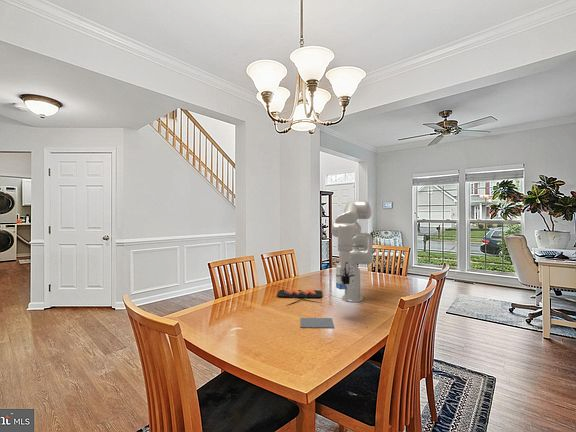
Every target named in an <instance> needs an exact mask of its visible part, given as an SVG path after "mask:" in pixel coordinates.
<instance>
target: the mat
mask: <svg viewBox="0 0 576 432" xmlns="http://www.w3.org/2000/svg"><path fill="white" fill-rule="evenodd" d="M299 328H301V329H335V325H334V321H333V318H332V317H300V327H299Z"/></svg>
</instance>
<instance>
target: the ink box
mask: <svg viewBox="0 0 576 432" xmlns="http://www.w3.org/2000/svg"><path fill="white" fill-rule="evenodd" d="M335 268H336V269H335V287H336V289H339V290H345V289H353V288H354V266H352V265H351V269H350V268H349V269H350V271H349V276H350V283H349V284H343V276H344V273H343V270H342V271H341V267H340V265H339V264H337V265H336V266H335ZM344 270H346V269H344Z"/></svg>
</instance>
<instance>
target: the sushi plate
mask: <svg viewBox="0 0 576 432" xmlns="http://www.w3.org/2000/svg"><path fill="white" fill-rule="evenodd" d="M276 296H277V297H281V298H282V297H284V298H294V299H299V300H296V301H293V302H291V303H289V304H287V305H286V304H285V307H288V306H292V305H294V304H295V303H298V302H300V301H301V300H302V301H306V302H311V303H317V304H321V302H320V301H316V300H310V299H308V298H321V297H323V291H322V290H314V289H313V290H312V289H295V288H294V289H280V290H278V292H277V295H276ZM306 298H307V299H306Z"/></svg>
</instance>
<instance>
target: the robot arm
mask: <svg viewBox="0 0 576 432" xmlns="http://www.w3.org/2000/svg"><path fill="white" fill-rule="evenodd" d="M371 218H372V208H371V205H370V203H369V202H368V201H366V200H353V201H352V200H351V201H348V202H347V203H346V204H345V207H344V210H343V213H341V214H339V215H338V216H336V217H335V218H334V219H333V221H332V224H331V235H332V236H333V237H335V238H337V252H339V253H338V265H340V267H341V271H342V270H343V273H344V276H343V284H349V283H350V276H349V271H350V269H351V265H352V266H354V288H353V289H344V295H342V296H341V300H343V301H345V302H347V303H348V302H349V303H359V302H362V301H364V298H363V296H361V269H360V268H359V267H358V265H370V264H371V263H372V262H373V250H374V249H373V245H374V243H373V236H372V234H371V233H367V232H362V226H361V225H360V223H359V222H358V220H369V219H371ZM349 268H350V269H349ZM344 269H346V270H344Z"/></svg>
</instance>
